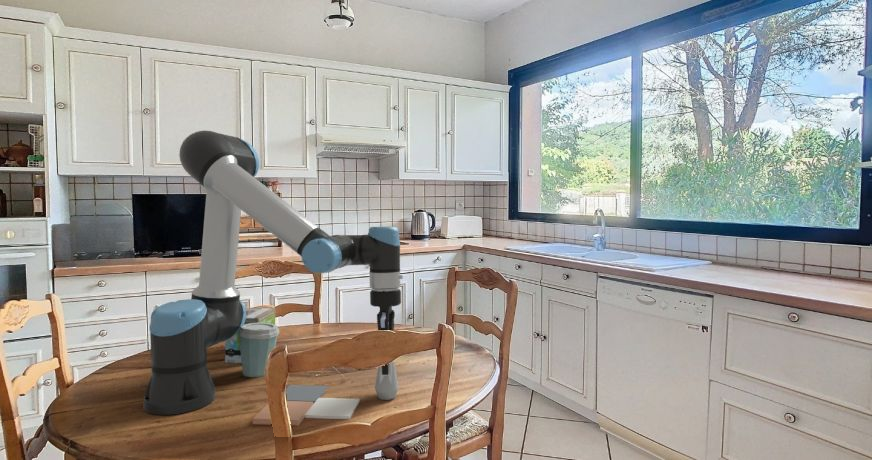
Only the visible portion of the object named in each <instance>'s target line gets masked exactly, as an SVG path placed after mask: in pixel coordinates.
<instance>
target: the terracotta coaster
mask: <svg viewBox="0 0 872 460" xmlns="http://www.w3.org/2000/svg"><path fill="white" fill-rule="evenodd" d="M287 405H288V411H289V415H290V421H291V425H290V426H300V424H301V423H302V422H303V420H304V419H306V418H305V414H306V413H307V412H308V410H309V409H310V408H311V407H312V405H313V402H304V401H287ZM252 425H268V426H269V425H271V420H270V413H269V408H268V403H267V404H266V405H265V406H264V407H263V408H262V409H261V410H260V411H259V412H258V413H257V414H255V416H254V417H253V418H252ZM271 426H272V425H271Z"/></svg>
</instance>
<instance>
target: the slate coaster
mask: <svg viewBox="0 0 872 460" xmlns="http://www.w3.org/2000/svg"><path fill="white" fill-rule="evenodd" d="M328 387H329V386H328V385H305V384H303V385H302V384H289V385H288V386H287V387H286V388H287V389H286V388H285V389H286V394H287V401H304V402H313V404H314V403H315V402H316V400H317V399H318V398H322V396H323V395H324V394H325V392H326V390H327V389H328Z"/></svg>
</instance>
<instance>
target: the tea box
mask: <svg viewBox="0 0 872 460" xmlns="http://www.w3.org/2000/svg"><path fill="white" fill-rule="evenodd" d="M245 310H246V319H245V323H244V325H245V324H249V323H270V324H275V325H276V308H274V307H273V308H271V307H269V308H268V307H266V308H265V307H264V308H263V307H262V308H261V307H260V308H259V307H245ZM224 344H225V348H224V351H225V352H224V353H225V355H224V362H225V364H230V363H231V364H242V360H241V351H240V341H239V334H238V333H237V334H235V335H234V336H233V337H231V338H230V339H228V340H226V341H224Z"/></svg>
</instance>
